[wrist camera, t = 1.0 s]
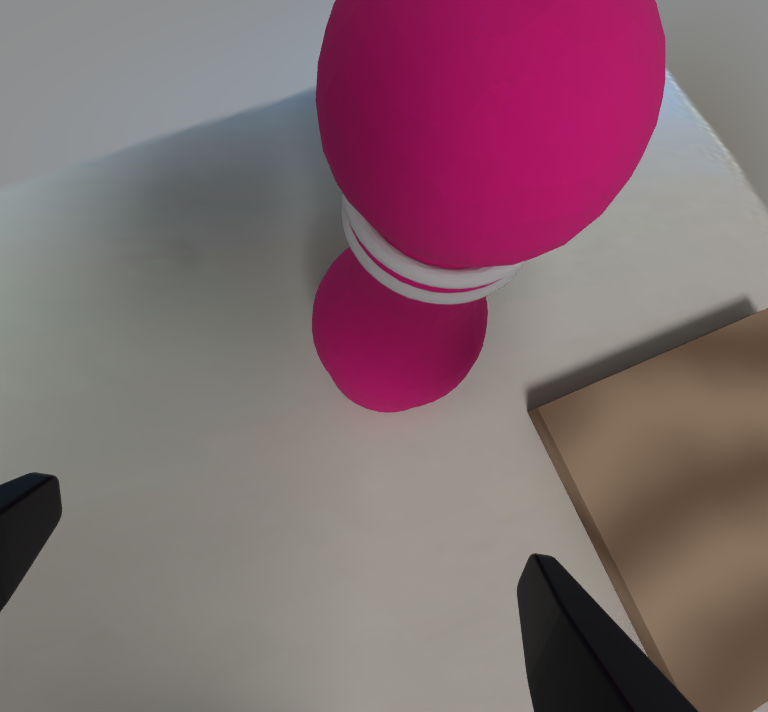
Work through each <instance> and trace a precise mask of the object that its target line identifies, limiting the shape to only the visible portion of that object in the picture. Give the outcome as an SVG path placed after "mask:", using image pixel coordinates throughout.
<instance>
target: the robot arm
mask: <svg viewBox="0 0 768 712" xmlns="http://www.w3.org/2000/svg"><path fill="white" fill-rule="evenodd" d="M61 514H62V504H61V495H60V487H59V480H58V479H57V477H56V476H54V475H49V474H43V473H37V472H33V473H29V474H26V475H23V476H21V477H18V478H16V479H13V480H11V481H9V482H6V483H4V484H1V485H0V612H1V610H2V609H3V607H4V606H5V605H6V603H7V602H8V601H9V599H10V598H11V596H12V595H13V593H14V592H15V590H16V589H17V587H18V585H19V584H20V582H21V581H22V579H23V578H24V576H25V574H26V573H27V571H28V570H29V568H30V567H31V565H32V563H33V562H34V560H35V559H36V557H37V556H38V554H39V553H40V551H41V549H42V548H43V546H44V545H45V543H46V542H47V540H48V538H49V537H50V535H51V534H52V532H53V531H54V529H55V527H56V526H57V524H58V522H59V520H60V518H61ZM517 599H518V607H519V616H520V624H521V632H522V641H523V649H524V657H525V666H526V672H527V679H528V685H529V690H530V695H531V699H532V704H533V708H534V712H699V711H698V710H697V709H696V708H695V707H694V706H693V705H692V704H691V703H690V702H689V701H688V699H687V698H686V697H685V696H684V695H683V694H682V693H681V692H680V691H679V690H678V689H677V688H676V687H675V686H674V685H673V683H672V682H671V681H670V680H669V679H668V678H667V677H666V676H665V675H664V674H663V673H662V672H661V671H660V670H659V669H658V667H657V666H656V665H655V664H654V663H653V662H652V661H651V660H650V659H649V658H648V657H647V656H646V655H645V654H644V653H643V651H642V650H641V649H640V648H639V647H638V646H637V645H636V644H635V643H634V642H633V641H632V640H631V639H630V638H629V637H628V635H627V634H626V633H625V632H624V631H623V630H622V629H621V628H620V627H619V626H618V625H617V624H616V623H615V622H614V621H613V619H612V618H611V617H610V616H609V615H608V614H607V613H606V612H605V611H604V610H603V609H602V608H601V607H600V606H599V605H598V603H597V602H596V601H595V600H594V599H593V598H592V597H591V596H590V595H589V594H588V593H587V592H586V591H585V590H584V589H583V588H582V586H581V585H580V584H579V583H578V582H577V581H576V580H575V579H574V578H573V577H572V576H571V575H570V574H569V573H568V572H567V570H566V569H565V568H564V567H563V566H562V565H561V564H560V563H559V562H558V561H557V560H556V559H555V558H554V557H552V556H548V555H542V554H536V553H535V554H532V555H530V557H529V558H528V561H527V563H526V565H525V568H524V570H523V572H522V575H521V577H520V579H519V582H518V586H517Z"/></svg>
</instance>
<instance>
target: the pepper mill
mask: <svg viewBox="0 0 768 712" xmlns="http://www.w3.org/2000/svg"><path fill="white" fill-rule="evenodd" d="M664 84H665V35H664V32H663V28H662V24H661V20H660V16H659V12H658V8H657V4H656V2H655V0H336V1H335V3H334V5H333V8H332V11H331V15H330V18H329V20H328V24H327V26H326V30H325V35H324V39H323V44H322V48H321V52H320V57H319V61H318V72H317V88H316V106H317V114H318V122H319V129H320V135H321V141H322V146H323V152H324V154H325V156H326V159H327V161H328V164H329V166H330V168H331V171H332V173H333V175H334V178H335V180H336V182H337V184H338V186H339V187H340V189H341V191H342V202H341V219H342V224H343V228H344V233H345V236H346V238H347V241H348V243H349V245H350V247H349V248H347V249H346V250H345V251H344V252H343V253H342V254H341V255H340V256H339V257H338V258H337V259H336V260H335V261H334V262H333V264H332V265H331V267H330V268H329V269H328V271H327V272H326V274H325V276H324V277H323V279H322V281H321V282H320V285H319V287H318V290H317V293H316V295H315V301H314V306H313V315H312V332H313V339H314V344H315V347H316V350H317V353H318V356H319V358H320V360H321V362H322V364H323V365H324V367H325V369H326V370H327V371H328V373H329V374H330V375H331V377H332V379H333V381H334V382H335V384H336V385H337V387H338V388H339V389H340V390H341V392H342V393H343V394H344V395H345V396H346V397H348V398H349V399H350V400H352V401H353V402H355V403H356V404H358V405H360V406H363V407H365V408H367V409H371V410H375V411H379V412H398V411H404V410H407V409H410V408H413V407H418V406H421V405H424V404H427V403H430V402H433V401H435V400H437V399H439V398H441V397H443V396H445V395H446V394H448V393H449V392H450V391H452V390H453V389H454V388H455V387H457V385H458V384H459V383H460V382H461V381H462V380H463V379H464V378H465V377H466V375H467V373H468V372H469V370H470V369H471V367H472V366H473V364H474V363H475V361H476V360H477V358H478V356H479V353H480V351H481V349H482V346H483V342H484V338H485V333H486V326H487V315H488V310H487V301H486V296H487V295H490V294H491V293H493V292H495V291H496V290H498V289H500V288H501V287H503V286H504V285H506V284H507V283H508V282H509V281H510V280H511V279H512V278H513V277H514V276H515V275H516V274H517V272H518V271H519V270H520V269H521V267H522V266H523V264H524V263H525V262H526V261H527V260H529V259H532V258H534V257H537V256H539V255H541V254H544V253H546V252H548V251H551V250H553V249H555V248H558V247H560V246H563V245H565V244H566V243H567V242H568V241H569V240H571V239H572V238H573V237H574V236H576V235H577V234H578V233H579V232H581V231H582V230H583V229H584V228H585V227H587V226H588V225H589V224H590V223H592V222H593V221H594V220H595V219H597V218H598V217H599V216H600V215H601V214H602V213H603V212H604V211H605V210H606V208H607V207H608V206H609V204H610V203H611V202H612V201H613V199H614V198H615V197H616V195H617V194H618V193H619V192H620V190H621V189H622V188H623V186H624V185H625V184H626V183H627V181H628V180H629V179H630V177H631V176H632V174H633V172H634V170H635V169H636V167H637V165H638V163H639V161H640V160H641V158H642V156H643V154H644V151H645V149H646V147H647V145H648V142H649V140H650V138H651V136H652V133H653V131H654V129H655V127H656V124H657V120H658V116H659V111H660V107H661V103H662V98H663V91H664Z"/></svg>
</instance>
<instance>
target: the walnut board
mask: <svg viewBox="0 0 768 712" xmlns="http://www.w3.org/2000/svg"><path fill="white" fill-rule="evenodd" d="M528 414H529V416H530V418H531V420H532V422H533V424H534V426H535V428H536V430H537V432H538V434H539V436H540V438H541V440H542V442H543V444H544V446H545V448H546V450H547V452H548V454H549V456H550V458H551V460H552V462H553V464H554V466H555V468H556V470H557V473H558V475H559V477H560V479H561V481H562V483H563V485H564V487H565V489H566V491H567V493H568V495H569V497H570V499H571V501H572V503H573V505H574V507H575V509H576V511H577V513H578V515H579V517H580V519H581V521H582V523H583V525H584V527H585V529H586V531H587V533H588V535H589V537H590V539H591V541H592V543H593V545H594V548H595V550H596V552H597V554H598V556H599V558H600V560H601V562H602V564H603V566H604V568H605V570H606V572H607V574H608V576H609V578H610V580H611V582H612V584H613V586H614V588H615V590H616V592H617V594H618V596H619V598H620V600H621V602H622V604H623V606H624V608H625V610H626V612H627V614H628V616H629V618H630V620H631V623H632V625H633V627H634V629H635V631H636V633H637V635H638V637H639V639H640V641H641V643H642V645H643V647H644V649H645V651H646V653H647V655H648V657H649V659H650V660H651V661H652V662H653V663H654V664H655V665H656V666H657V667H658V669H659V670H660V671H661V672H662V673H663V674H664V675H665V676H666V677H667V678H668V679H669V680H670V681H671V682H672V683H673V685H674V686H675V687H676V688H677V689H678V690H679V691H680V692H681V693H682V694H683V695H684V696H685V697H686V698H687V699H688V701H689V702H690V703H691V704H692V705H693V706H694V707H695V708H696V709H697V710H698V711H699V712H752V711H753V710H755V709H756V708H758V707H759V706H761V705H762V704H764V703H765V702H767V701H768V308H767V309H765V310H762V311H760V312H758V313H755V314H753V315H751V316H748V317H746V318H744V319H741V320H739V321H737V322H734V323H732V324H730V325H727V326H725V327H723V328H720V329H718V330H716V331H714V332H711V333H709V334H707V335H704V336H702V337H700V338H697V339H695V340H693V341H690V342H688V343H686V344H683V345H681V346H679V347H676V348H674V349H672V350H670V351H667V352H665V353H663V354H660V355H658V356H656V357H653V358H651V359H649V360H646V361H644V362H642V363H639V364H637V365H635V366H632V367H630V368H628V369H626V370H623V371H621V372H619V373H616V374H614V375H612V376H609V377H607V378H605V379H602V380H600V381H598V382H595V383H593V384H591V385H588V386H586V387H584V388H582V389H579V390H577V391H575V392H572V393H570V394H568V395H565V396H563V397H561V398H558V399H556V400H554V401H551V402H549V403H547V404H544V405H542V406H540V407H538V408H535V409H533V410H531V411H528Z"/></svg>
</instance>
